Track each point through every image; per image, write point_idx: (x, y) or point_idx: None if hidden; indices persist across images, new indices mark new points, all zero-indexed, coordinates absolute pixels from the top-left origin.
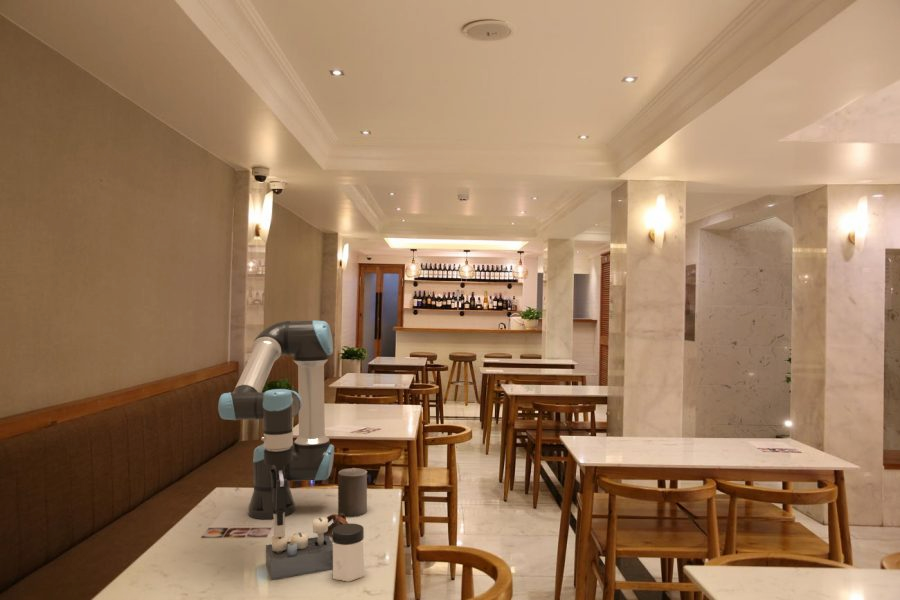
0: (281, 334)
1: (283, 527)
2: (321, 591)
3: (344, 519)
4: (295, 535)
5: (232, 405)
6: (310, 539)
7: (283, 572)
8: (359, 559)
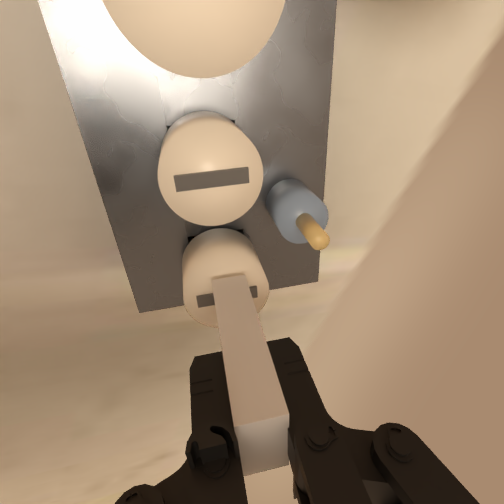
0: None
1: (255, 316)
2: (466, 74)
3: None
4: (209, 209)
5: None
6: (91, 78)
7: None
8: None
